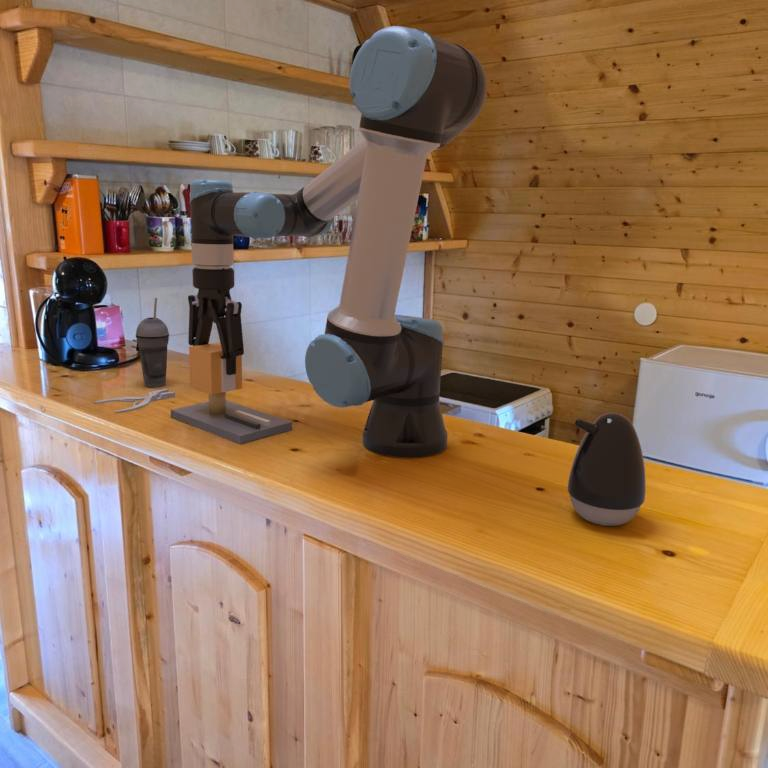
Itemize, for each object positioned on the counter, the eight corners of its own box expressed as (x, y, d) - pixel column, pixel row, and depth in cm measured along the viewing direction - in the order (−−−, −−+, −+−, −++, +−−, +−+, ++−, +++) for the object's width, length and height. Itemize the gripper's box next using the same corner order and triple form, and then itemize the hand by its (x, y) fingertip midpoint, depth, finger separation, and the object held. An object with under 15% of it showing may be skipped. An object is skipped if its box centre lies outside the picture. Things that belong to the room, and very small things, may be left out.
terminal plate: (292, 429, 130) (292, 396, 128) (240, 444, 121) (239, 408, 120) (221, 405, 144) (220, 375, 142) (170, 417, 135) (169, 385, 134)
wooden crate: (242, 388, 134) (241, 347, 132) (211, 394, 129) (210, 352, 127) (220, 381, 138) (219, 342, 137) (190, 387, 133) (188, 346, 131)
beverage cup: (145, 380, 162) (140, 295, 157) (176, 381, 162) (172, 296, 157) (133, 388, 155) (127, 299, 150) (165, 389, 155) (161, 300, 150)
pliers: (93, 397, 143) (159, 385, 153) (93, 404, 143) (159, 392, 154) (115, 407, 136) (183, 394, 147) (116, 415, 137) (183, 401, 147)
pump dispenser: (554, 502, 101) (563, 402, 97) (623, 502, 102) (635, 403, 98) (577, 535, 91) (589, 424, 87) (654, 534, 92) (669, 425, 88)
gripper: (263, 270, 124) (264, 393, 130) (199, 261, 137) (202, 374, 143) (229, 272, 119) (231, 400, 125) (165, 263, 131) (170, 380, 137)
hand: (216, 386), depth 134 cm, fingers closed on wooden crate, 7 cm apart
